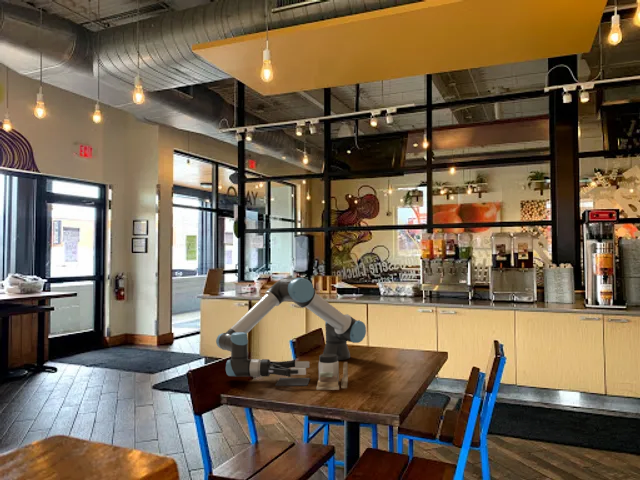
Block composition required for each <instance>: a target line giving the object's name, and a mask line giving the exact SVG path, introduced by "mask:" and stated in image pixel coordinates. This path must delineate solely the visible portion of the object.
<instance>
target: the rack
mask: <svg viewBox="0 0 640 480" xmlns="http://www.w3.org/2000/svg"><path fill="white" fill-rule="evenodd" d="M342 370H343V371H342V373H343V374H342V377H341V383H340V384H341V385H340V384H338V387H318V384H316V386H315V387H316V390H317V391H322V390H323V391H324V390H325V391H331V390H332V391H335V390H337V391H339V390H340V387H341V389H348V383H349V379H348V377H349V373H348V370H349V369H348V361H343V368H342Z"/></svg>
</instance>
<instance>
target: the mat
mask: <svg viewBox="0 0 640 480" xmlns="http://www.w3.org/2000/svg"><path fill="white" fill-rule="evenodd" d="M310 381H311V378H310V377H279V378H278V380H277V382H276V383H275V387H308V386H309V382H310Z"/></svg>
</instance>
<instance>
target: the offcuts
mask: <svg viewBox="0 0 640 480" xmlns="http://www.w3.org/2000/svg"><path fill="white" fill-rule="evenodd" d="M317 385H318V387H338V385H339V383H338V380H337V376H333V375H332V372H321V373H320V380H319V379H318V380H317Z"/></svg>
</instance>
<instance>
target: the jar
mask: <svg viewBox="0 0 640 480" xmlns="http://www.w3.org/2000/svg"><path fill="white" fill-rule="evenodd" d="M318 357H319V361H318V380H320V373H321V372H332V375H333V376H337V380H338V384H339V383H340V376H339V375H340V372H339V371H340V369H339V368H340V367H339V366H340V365H339V360H338V357H337V355H336V354H323V353H321V354H320V355H319V356H318Z"/></svg>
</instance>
